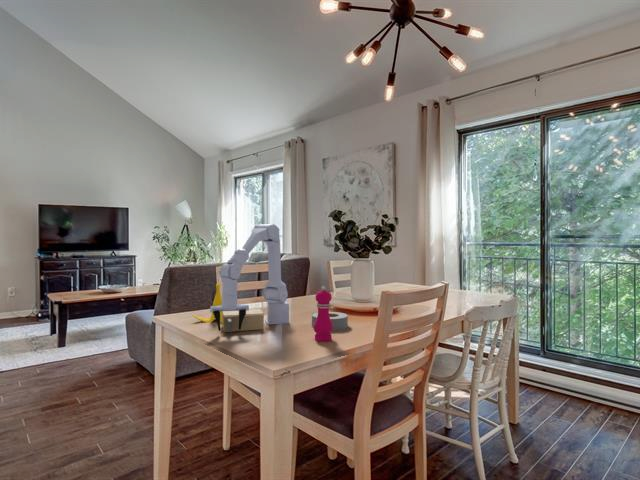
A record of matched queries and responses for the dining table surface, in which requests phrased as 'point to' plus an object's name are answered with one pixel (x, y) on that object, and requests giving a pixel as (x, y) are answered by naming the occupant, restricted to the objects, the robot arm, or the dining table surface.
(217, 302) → the banana peel
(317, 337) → the pepper mill
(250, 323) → the front flap
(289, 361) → the dining table surface
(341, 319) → the tape roll
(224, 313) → the carton
